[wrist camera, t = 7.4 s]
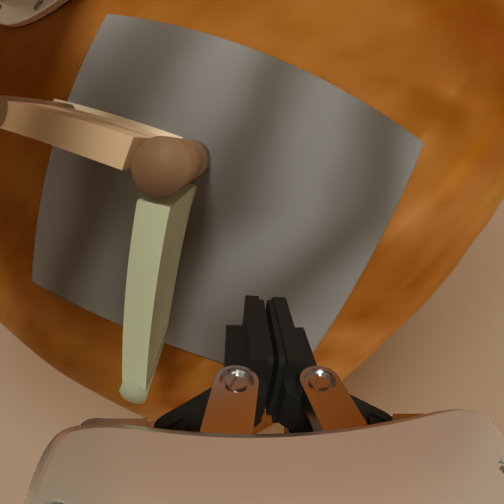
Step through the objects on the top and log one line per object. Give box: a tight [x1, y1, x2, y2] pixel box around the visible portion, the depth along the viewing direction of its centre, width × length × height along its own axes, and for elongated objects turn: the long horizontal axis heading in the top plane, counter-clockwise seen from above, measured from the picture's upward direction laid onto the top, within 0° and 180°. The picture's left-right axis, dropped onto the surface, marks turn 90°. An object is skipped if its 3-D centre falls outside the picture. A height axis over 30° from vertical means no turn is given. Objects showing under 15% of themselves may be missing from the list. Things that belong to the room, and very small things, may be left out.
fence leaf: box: [119, 183, 196, 404], centre depth 14 cm, size 10×1×6 cm, turn 165°
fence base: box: [0, 14, 424, 363], centre depth 13 cm, size 22×19×7 cm
